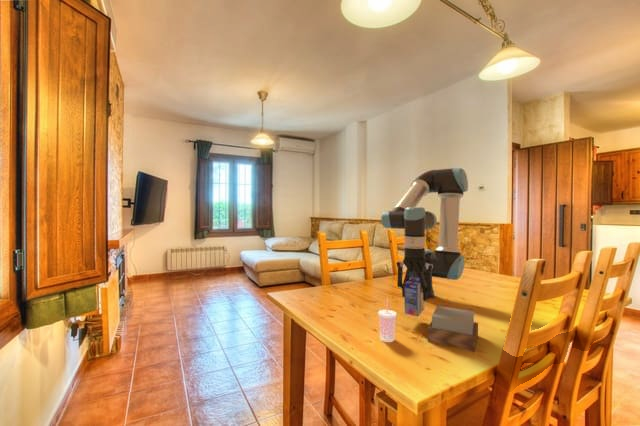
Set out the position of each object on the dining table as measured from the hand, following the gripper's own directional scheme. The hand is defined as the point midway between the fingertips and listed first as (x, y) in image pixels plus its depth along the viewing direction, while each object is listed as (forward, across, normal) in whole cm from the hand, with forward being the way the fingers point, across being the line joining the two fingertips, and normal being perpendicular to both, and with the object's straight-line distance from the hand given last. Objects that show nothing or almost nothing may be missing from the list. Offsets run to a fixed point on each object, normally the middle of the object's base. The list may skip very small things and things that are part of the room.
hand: (414, 306), depth 114 cm
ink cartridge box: (+2, 0, 0) cm, 2 cm away
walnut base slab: (+7, +15, -7) cm, 18 cm away
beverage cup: (+6, -4, -20) cm, 21 cm away
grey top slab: (+2, +15, -7) cm, 16 cm away
